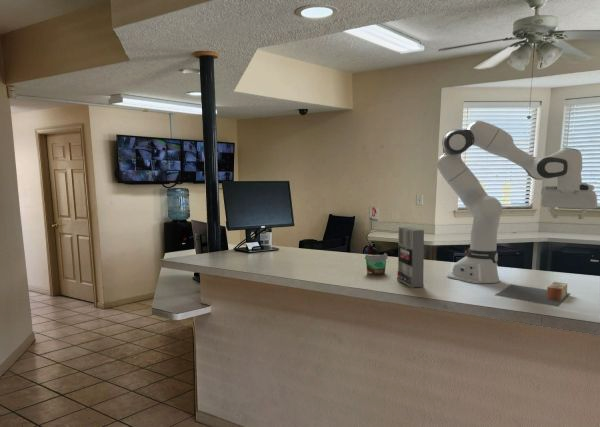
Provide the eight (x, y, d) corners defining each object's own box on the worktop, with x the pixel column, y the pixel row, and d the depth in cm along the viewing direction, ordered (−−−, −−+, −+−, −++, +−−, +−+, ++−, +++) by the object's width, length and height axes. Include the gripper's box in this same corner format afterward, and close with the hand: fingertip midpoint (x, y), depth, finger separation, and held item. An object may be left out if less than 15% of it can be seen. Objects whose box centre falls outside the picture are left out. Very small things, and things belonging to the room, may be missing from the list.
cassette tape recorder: (396, 280, 190) (396, 227, 188) (408, 279, 192) (408, 226, 189) (410, 288, 177) (411, 230, 175) (423, 287, 178) (424, 230, 176)
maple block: (553, 292, 165) (547, 298, 157) (554, 281, 165) (547, 287, 157) (566, 294, 162) (560, 301, 154) (567, 283, 162) (561, 289, 154)
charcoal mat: (494, 296, 163) (494, 295, 163) (511, 285, 179) (511, 284, 179) (558, 307, 148) (558, 306, 148) (570, 294, 164) (570, 293, 164)
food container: (371, 277, 197) (371, 256, 196) (364, 274, 202) (364, 254, 202) (392, 274, 202) (392, 254, 201) (385, 272, 207) (385, 252, 207)
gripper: (539, 186, 180) (538, 217, 181) (596, 186, 166) (594, 220, 167) (543, 186, 185) (542, 216, 186) (598, 186, 171) (597, 219, 172)
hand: (567, 218), depth 176 cm, fingers open, 8 cm apart
